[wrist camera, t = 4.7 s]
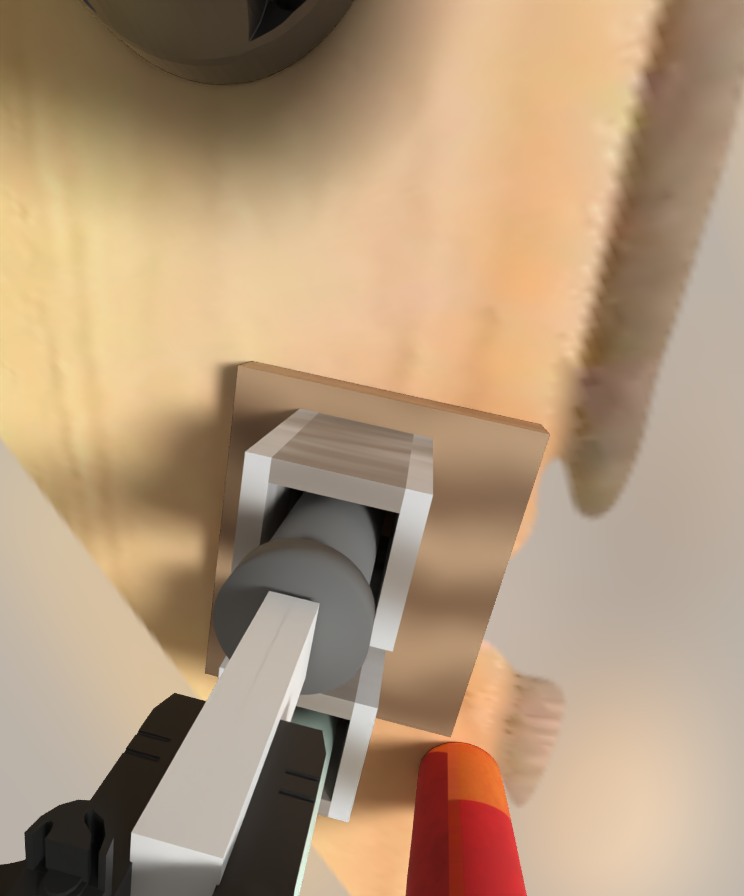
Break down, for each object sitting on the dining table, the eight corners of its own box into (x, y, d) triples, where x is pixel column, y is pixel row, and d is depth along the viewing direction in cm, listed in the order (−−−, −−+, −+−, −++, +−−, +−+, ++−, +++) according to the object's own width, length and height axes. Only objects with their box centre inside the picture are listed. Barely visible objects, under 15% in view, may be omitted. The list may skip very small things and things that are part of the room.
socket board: (252, 361, 26) (156, 391, 17) (541, 424, 25) (601, 492, 16) (218, 651, 32) (134, 786, 23) (449, 711, 31) (456, 875, 22)
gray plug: (314, 436, 24) (220, 540, 14) (406, 457, 24) (385, 580, 13) (300, 519, 26) (207, 672, 15) (387, 540, 25) (353, 711, 15)
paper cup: (423, 820, 34) (417, 1145, 21) (388, 739, 33) (358, 1038, 19) (531, 806, 33) (598, 1148, 20) (501, 720, 31) (552, 1032, 18)
